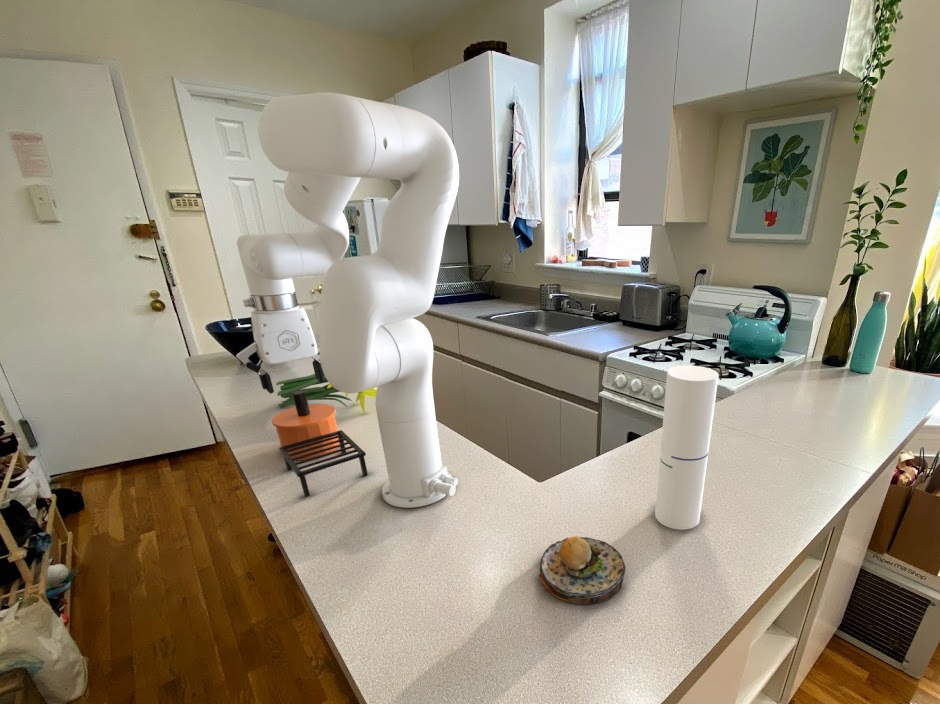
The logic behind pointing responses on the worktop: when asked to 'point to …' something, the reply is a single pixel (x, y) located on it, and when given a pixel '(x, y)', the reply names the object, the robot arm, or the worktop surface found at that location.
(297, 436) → the pot
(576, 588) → the burger
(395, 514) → the worktop surface
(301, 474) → the rack
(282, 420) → the lid
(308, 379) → the daffodil flowers
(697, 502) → the cylindrical container
